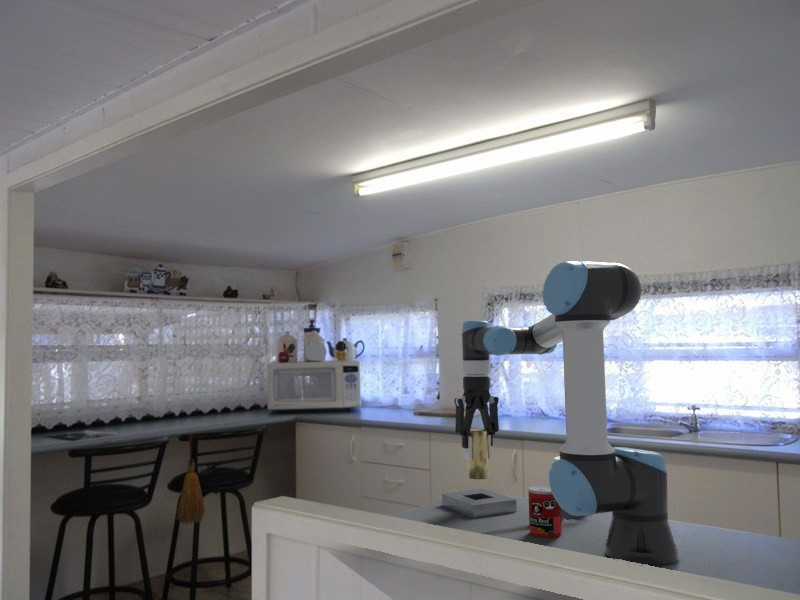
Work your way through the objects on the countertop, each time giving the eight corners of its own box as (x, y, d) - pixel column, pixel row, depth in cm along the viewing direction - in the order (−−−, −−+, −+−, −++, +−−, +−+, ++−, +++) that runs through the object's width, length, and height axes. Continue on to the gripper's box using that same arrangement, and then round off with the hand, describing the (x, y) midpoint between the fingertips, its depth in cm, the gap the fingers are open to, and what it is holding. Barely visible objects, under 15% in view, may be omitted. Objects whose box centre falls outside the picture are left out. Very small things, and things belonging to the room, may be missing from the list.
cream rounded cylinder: (492, 478, 188) (491, 430, 189) (475, 480, 186) (474, 432, 186) (480, 474, 193) (480, 428, 194) (464, 476, 191) (463, 429, 191)
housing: (516, 516, 185) (516, 499, 185) (473, 522, 178) (473, 505, 179) (483, 504, 199) (483, 488, 199) (442, 510, 193) (442, 493, 193)
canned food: (523, 534, 168) (522, 488, 168) (540, 527, 174) (539, 483, 174) (550, 540, 162) (549, 493, 163) (567, 533, 168) (566, 487, 169)
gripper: (495, 374, 199) (497, 454, 197) (441, 376, 190) (442, 460, 189) (511, 375, 192) (513, 458, 191) (455, 377, 184) (456, 464, 182)
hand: (477, 459), depth 190 cm, fingers closed on cream rounded cylinder, 6 cm apart
